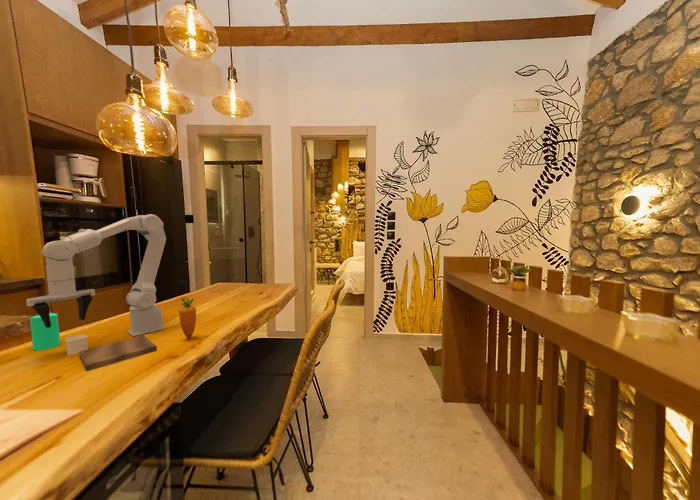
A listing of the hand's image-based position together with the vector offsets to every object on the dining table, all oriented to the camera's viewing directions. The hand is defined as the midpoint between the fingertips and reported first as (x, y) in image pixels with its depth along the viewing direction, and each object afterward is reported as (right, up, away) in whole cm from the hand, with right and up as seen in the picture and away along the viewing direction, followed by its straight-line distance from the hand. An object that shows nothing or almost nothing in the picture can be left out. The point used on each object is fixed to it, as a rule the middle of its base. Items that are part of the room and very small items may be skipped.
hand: (65, 322), depth 84 cm
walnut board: (+17, -9, -1) cm, 19 cm away
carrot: (+32, -9, +10) cm, 35 cm away
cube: (+2, -9, +2) cm, 10 cm away
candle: (-12, -9, +5) cm, 16 cm away
